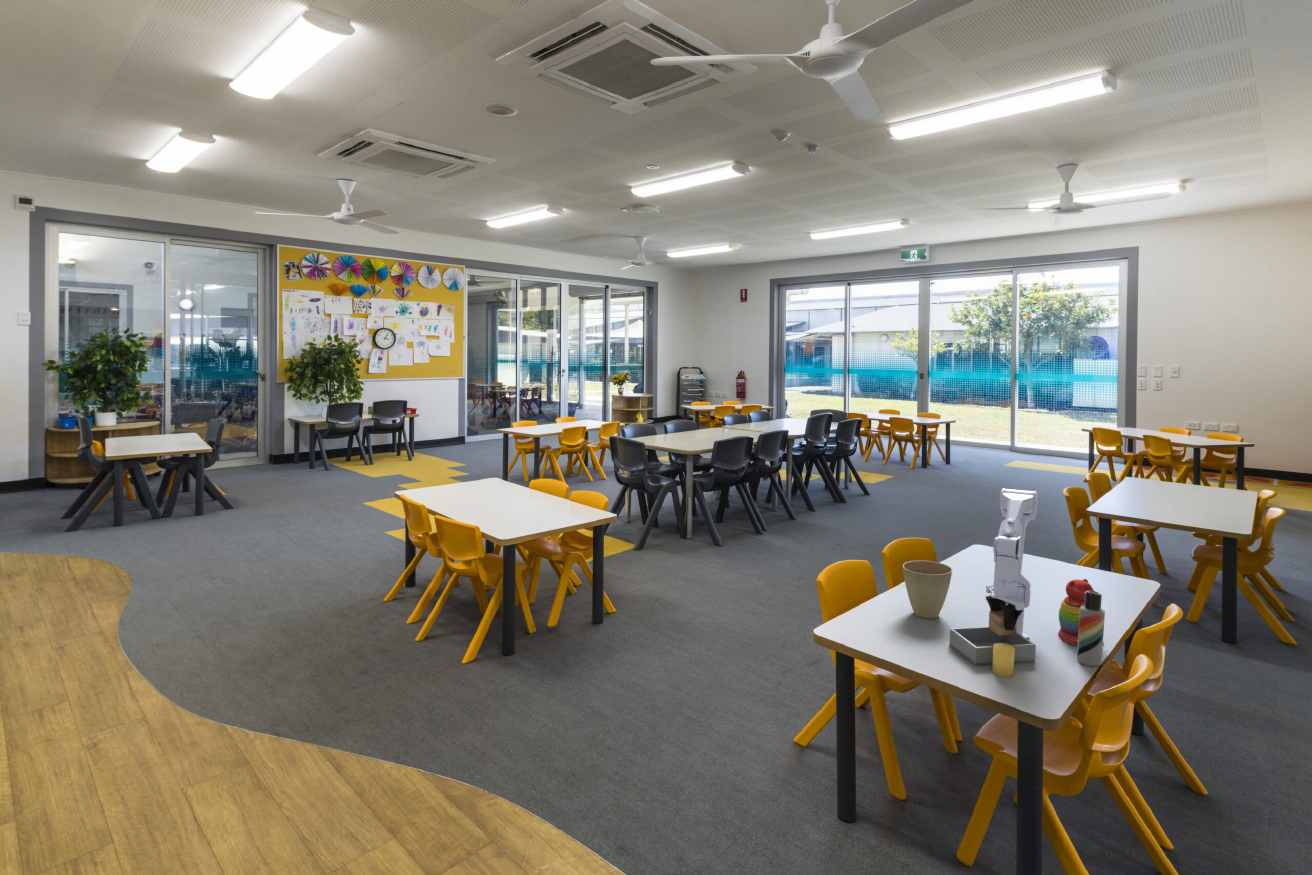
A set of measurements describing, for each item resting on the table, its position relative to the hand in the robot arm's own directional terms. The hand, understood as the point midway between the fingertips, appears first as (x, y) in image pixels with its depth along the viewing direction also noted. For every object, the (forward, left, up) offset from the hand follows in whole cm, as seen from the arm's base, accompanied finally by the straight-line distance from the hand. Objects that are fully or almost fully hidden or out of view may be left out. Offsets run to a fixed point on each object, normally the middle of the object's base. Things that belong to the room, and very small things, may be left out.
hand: (1003, 625), depth 187 cm
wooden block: (0, 0, -2) cm, 2 cm away
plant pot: (-30, -7, -8) cm, 32 cm away
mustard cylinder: (+10, -6, -8) cm, 15 cm away
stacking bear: (-7, +28, -8) cm, 30 cm away
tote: (-1, -3, -8) cm, 9 cm away
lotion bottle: (+8, +20, -8) cm, 23 cm away
